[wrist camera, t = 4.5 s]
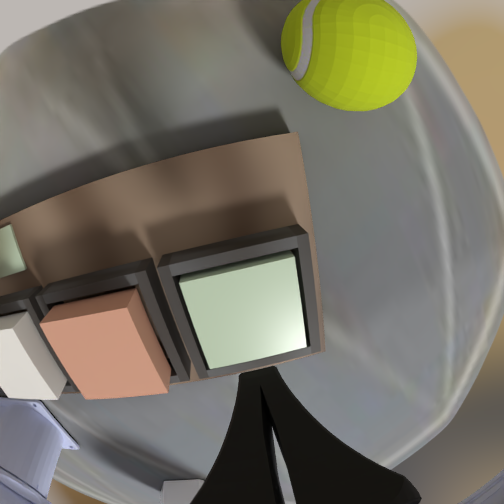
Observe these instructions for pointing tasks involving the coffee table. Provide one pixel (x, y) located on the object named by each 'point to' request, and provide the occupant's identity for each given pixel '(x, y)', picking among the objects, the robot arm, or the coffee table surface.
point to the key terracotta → (108, 346)
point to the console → (167, 243)
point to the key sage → (246, 309)
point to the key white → (27, 361)
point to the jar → (179, 491)
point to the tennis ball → (349, 52)
